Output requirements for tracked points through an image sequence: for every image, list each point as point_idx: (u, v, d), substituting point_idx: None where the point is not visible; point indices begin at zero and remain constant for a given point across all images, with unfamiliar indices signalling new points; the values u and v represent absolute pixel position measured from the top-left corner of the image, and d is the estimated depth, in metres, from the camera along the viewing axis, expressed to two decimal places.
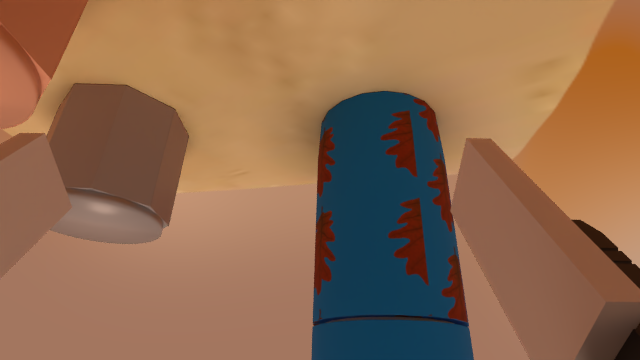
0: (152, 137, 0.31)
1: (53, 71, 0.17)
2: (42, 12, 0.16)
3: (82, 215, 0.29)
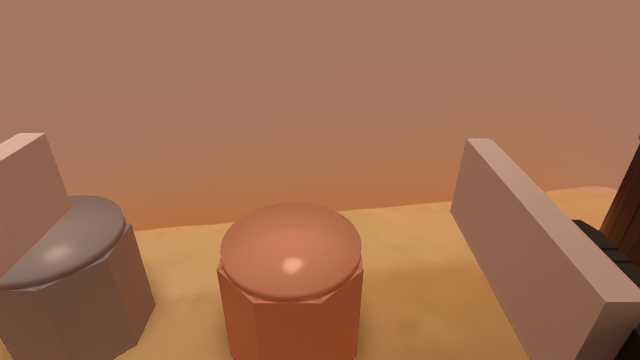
0: (84, 338, 0.28)
1: (255, 307, 0.24)
2: (283, 325, 0.24)
3: (72, 231, 0.28)
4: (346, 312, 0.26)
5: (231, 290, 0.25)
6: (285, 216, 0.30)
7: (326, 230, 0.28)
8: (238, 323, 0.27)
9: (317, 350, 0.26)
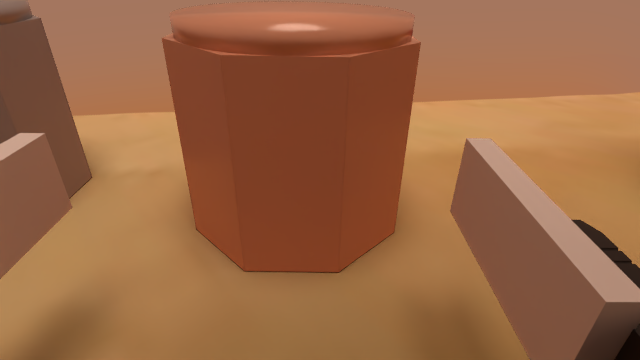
0: None
1: (223, 67, 0.12)
2: (278, 116, 0.13)
3: None
4: (388, 123, 0.15)
5: (185, 66, 0.14)
6: (284, 4, 0.19)
7: (352, 9, 0.17)
8: (200, 143, 0.15)
9: (338, 180, 0.14)
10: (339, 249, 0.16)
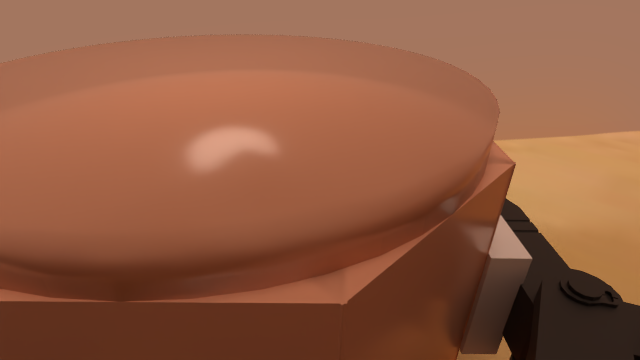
0: None
1: None
2: None
3: None
4: (435, 342, 0.07)
5: None
6: (224, 46, 0.10)
7: (349, 63, 0.09)
8: None
9: None
10: None
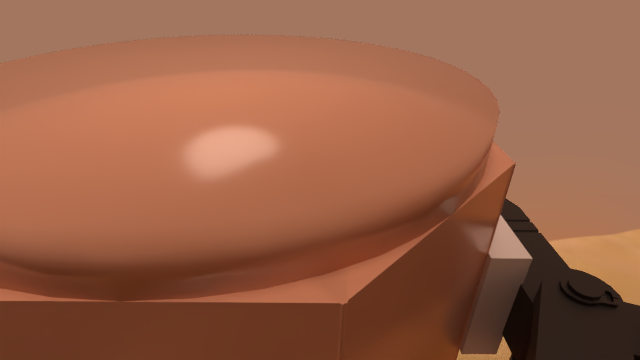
0: None
1: None
2: None
3: None
4: (435, 342, 0.07)
5: None
6: (224, 46, 0.10)
7: (349, 63, 0.09)
8: None
9: None
10: None
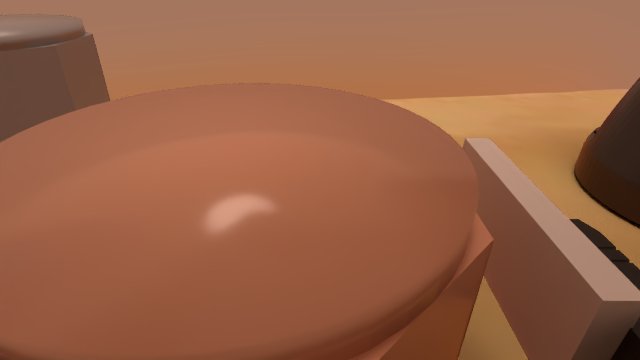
0: None
1: None
2: None
3: (16, 24, 0.23)
4: None
5: None
6: (229, 101, 0.11)
7: (346, 126, 0.09)
8: None
9: None
10: None
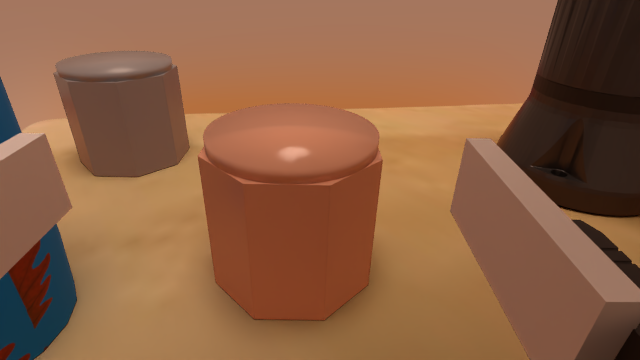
0: (142, 140, 0.36)
1: (244, 190, 0.18)
2: (281, 219, 0.19)
3: (134, 61, 0.37)
4: (360, 215, 0.21)
5: (215, 179, 0.20)
6: (285, 112, 0.25)
7: (335, 123, 0.23)
8: (223, 228, 0.21)
9: (323, 259, 0.20)
10: (324, 304, 0.22)
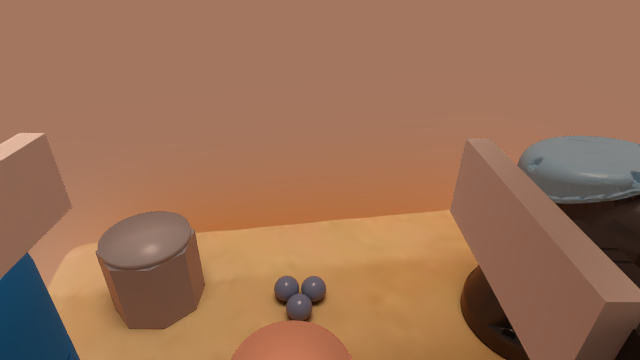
0: (168, 302, 0.44)
1: None
2: None
3: (160, 235, 0.44)
4: None
5: None
6: (284, 339, 0.32)
7: (322, 358, 0.31)
8: None
9: None
10: None
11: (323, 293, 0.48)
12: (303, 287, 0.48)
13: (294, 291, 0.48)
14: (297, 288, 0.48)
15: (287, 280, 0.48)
